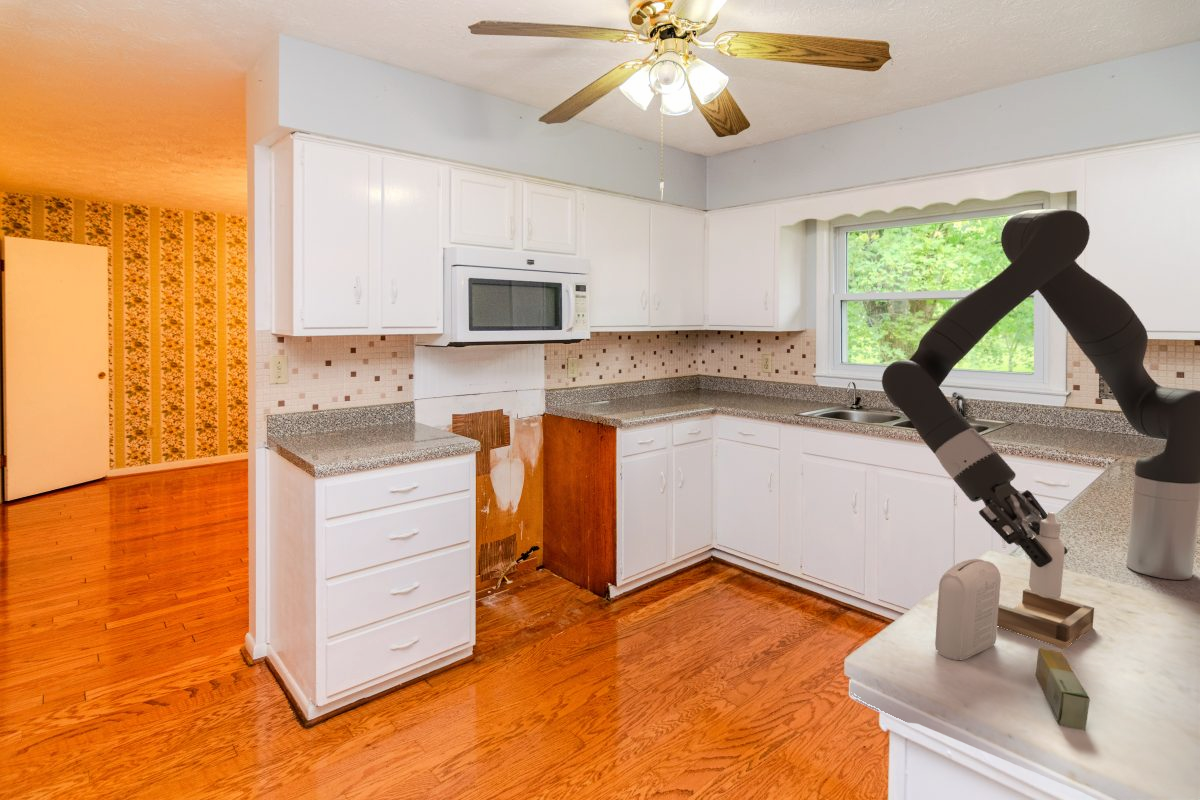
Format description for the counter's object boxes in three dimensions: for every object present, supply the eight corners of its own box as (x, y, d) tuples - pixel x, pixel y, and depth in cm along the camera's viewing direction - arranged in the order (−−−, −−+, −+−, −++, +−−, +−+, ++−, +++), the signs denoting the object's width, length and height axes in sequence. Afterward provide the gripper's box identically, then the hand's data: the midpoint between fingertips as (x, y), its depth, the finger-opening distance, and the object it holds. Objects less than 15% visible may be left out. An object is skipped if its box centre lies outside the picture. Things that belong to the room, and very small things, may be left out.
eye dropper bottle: (1065, 590, 99) (1072, 511, 97) (1058, 602, 95) (1066, 519, 93) (1030, 582, 102) (1037, 505, 100) (1022, 593, 98) (1029, 513, 96)
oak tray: (1024, 607, 106) (1026, 588, 105) (1092, 627, 98) (1094, 607, 98) (994, 626, 99) (996, 606, 99) (1065, 649, 92) (1066, 628, 91)
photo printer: (969, 633, 97) (975, 550, 95) (1000, 644, 93) (1006, 559, 92) (929, 652, 91) (934, 564, 90) (961, 665, 88) (967, 574, 86)
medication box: (1087, 733, 73) (1091, 698, 73) (1058, 727, 74) (1062, 693, 74) (1058, 679, 84) (1061, 649, 84) (1033, 675, 85) (1036, 645, 85)
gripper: (972, 456, 98) (1058, 557, 90) (1012, 445, 107) (1094, 537, 99) (933, 484, 103) (1012, 583, 95) (975, 472, 112) (1050, 562, 104)
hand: (1053, 559), depth 97 cm, fingers closed on eye dropper bottle, 5 cm apart
